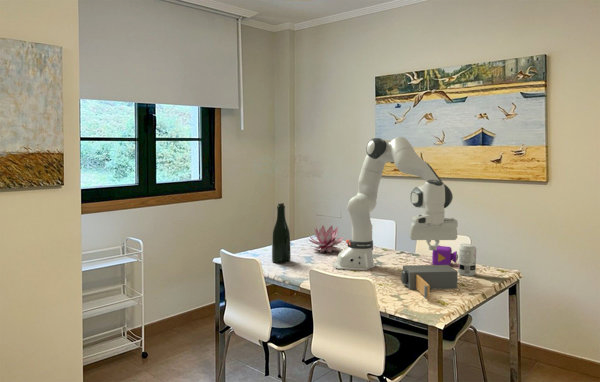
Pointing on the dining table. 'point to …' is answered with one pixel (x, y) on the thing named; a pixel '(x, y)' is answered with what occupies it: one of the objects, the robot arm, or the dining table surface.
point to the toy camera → (443, 255)
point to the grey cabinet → (430, 276)
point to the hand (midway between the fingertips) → (432, 250)
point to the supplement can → (467, 260)
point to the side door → (422, 286)
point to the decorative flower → (326, 239)
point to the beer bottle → (281, 237)
